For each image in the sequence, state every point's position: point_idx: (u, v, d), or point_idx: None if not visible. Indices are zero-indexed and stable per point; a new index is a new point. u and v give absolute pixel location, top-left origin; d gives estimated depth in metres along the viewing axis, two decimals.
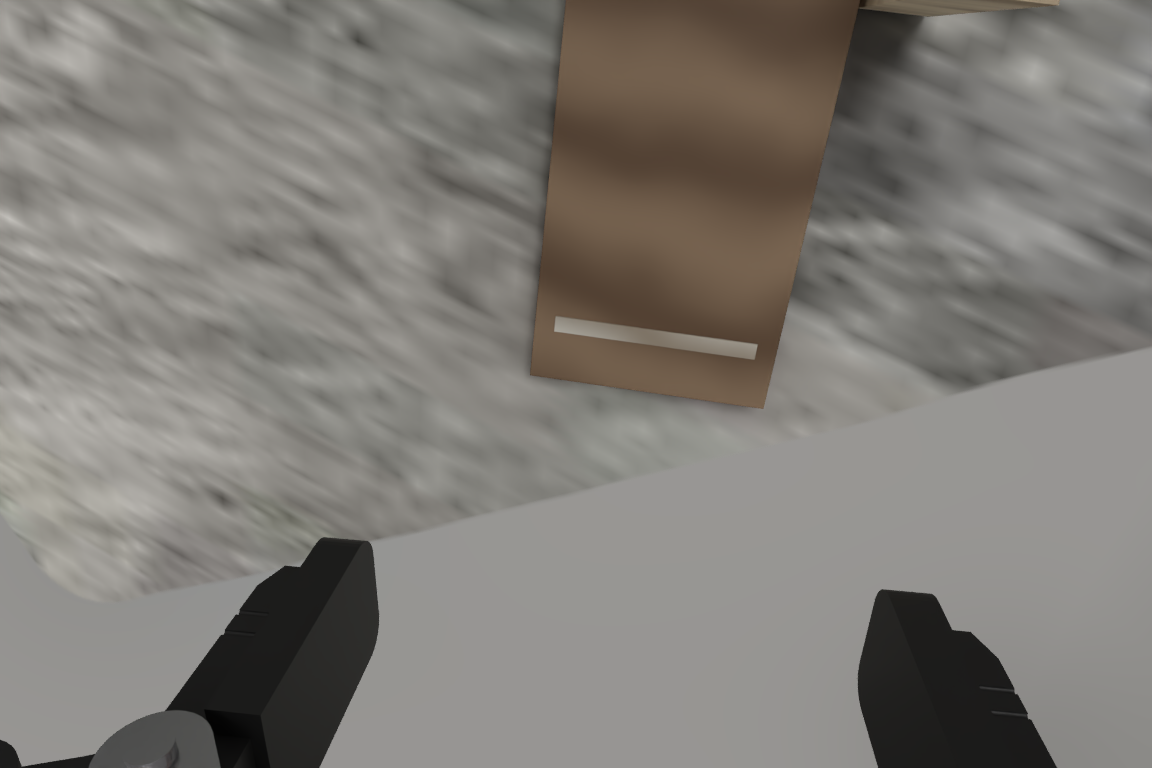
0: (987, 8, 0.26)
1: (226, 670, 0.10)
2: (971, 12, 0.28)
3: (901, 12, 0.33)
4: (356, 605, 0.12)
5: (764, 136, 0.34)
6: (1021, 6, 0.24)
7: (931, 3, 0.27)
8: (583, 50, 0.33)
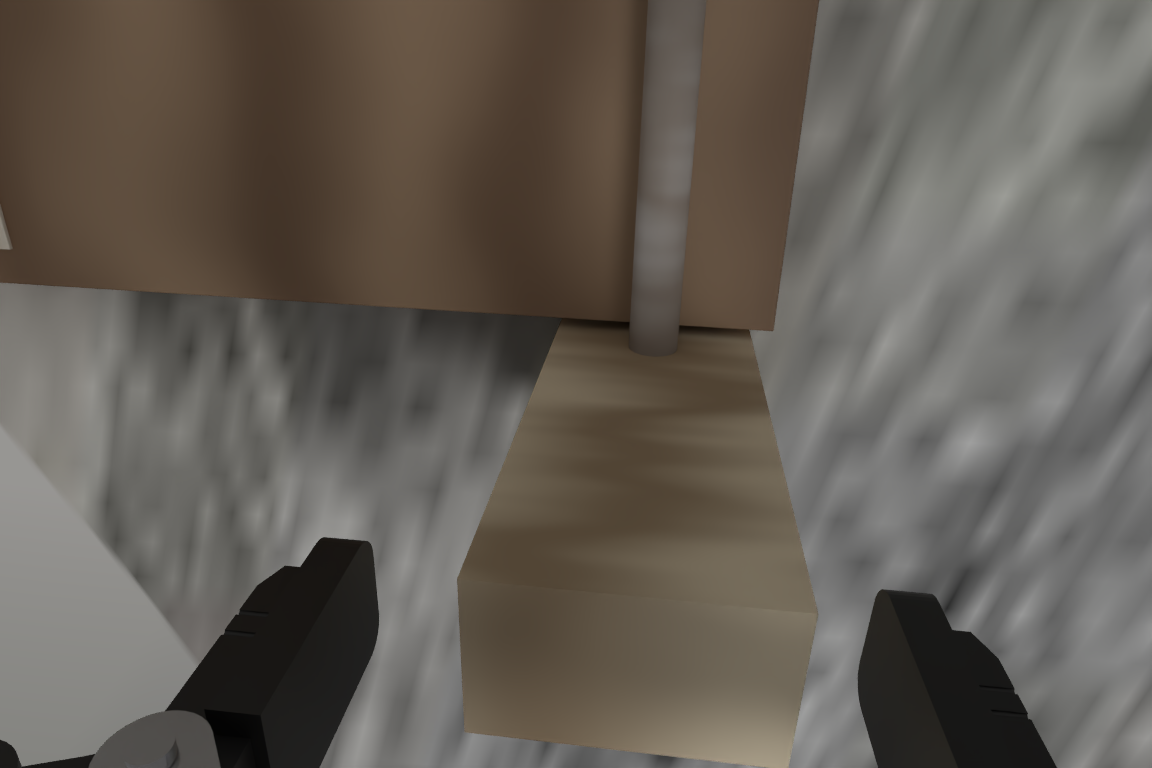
0: None
1: (226, 670, 0.10)
2: None
3: None
4: (355, 605, 0.12)
5: (344, 202, 0.20)
6: None
7: None
8: None
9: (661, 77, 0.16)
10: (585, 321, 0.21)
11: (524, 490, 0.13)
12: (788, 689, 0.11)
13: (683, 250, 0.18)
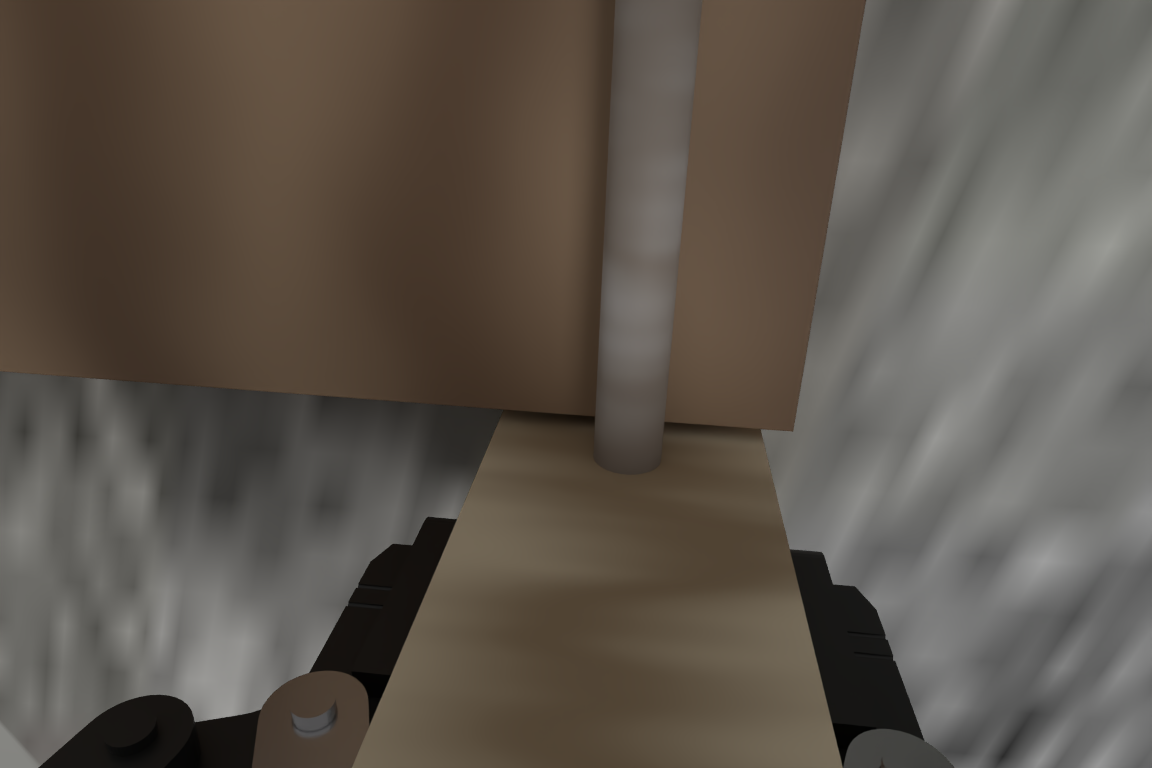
0: None
1: (358, 638, 0.11)
2: None
3: None
4: None
5: (195, 251, 0.14)
6: None
7: None
8: None
9: (637, 80, 0.11)
10: None
11: None
12: None
13: (670, 329, 0.12)
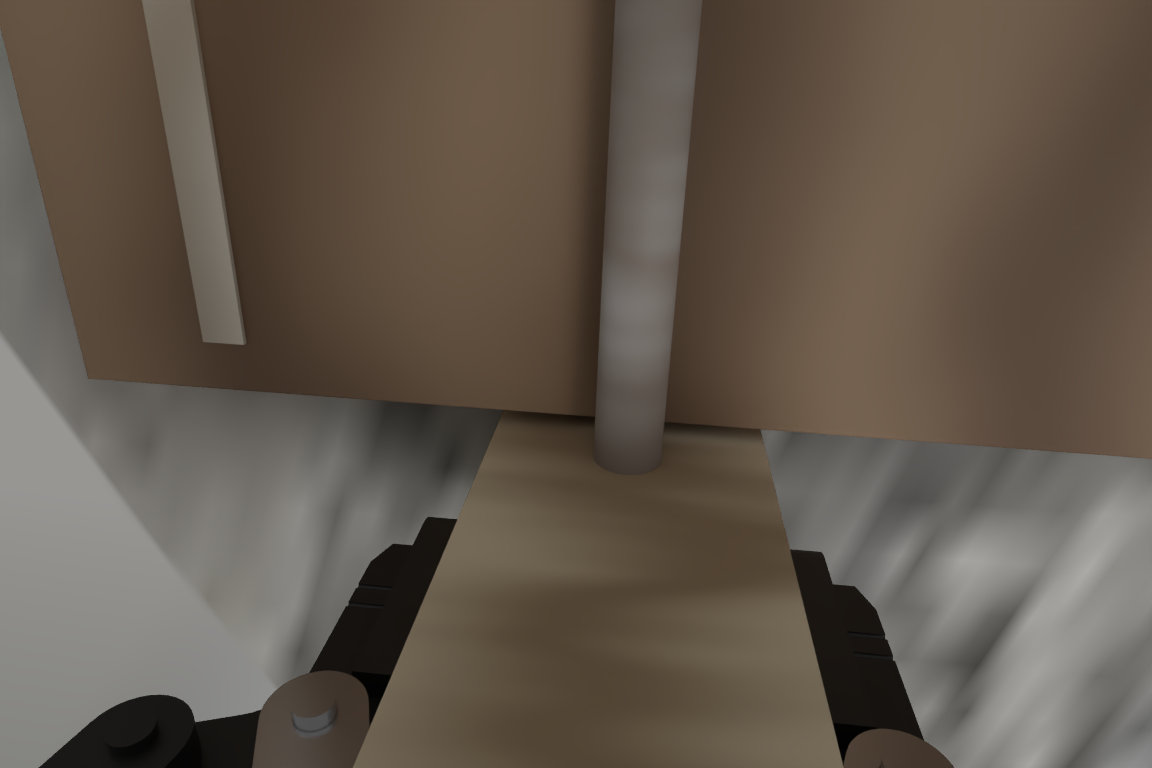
0: None
1: (358, 638, 0.11)
2: None
3: None
4: None
5: (777, 287, 0.13)
6: None
7: None
8: None
9: (637, 80, 0.11)
10: None
11: None
12: None
13: (670, 329, 0.12)
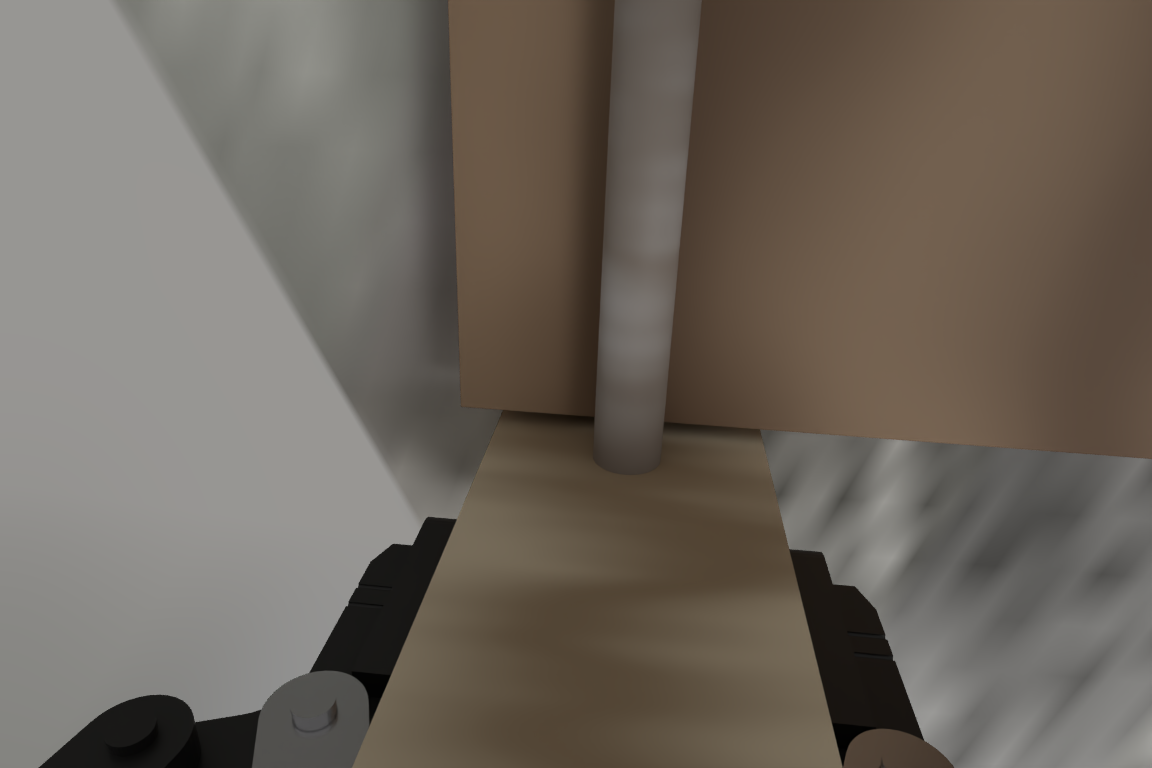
0: None
1: (358, 638, 0.11)
2: None
3: None
4: None
5: None
6: None
7: None
8: None
9: (636, 80, 0.11)
10: None
11: None
12: None
13: (669, 329, 0.12)
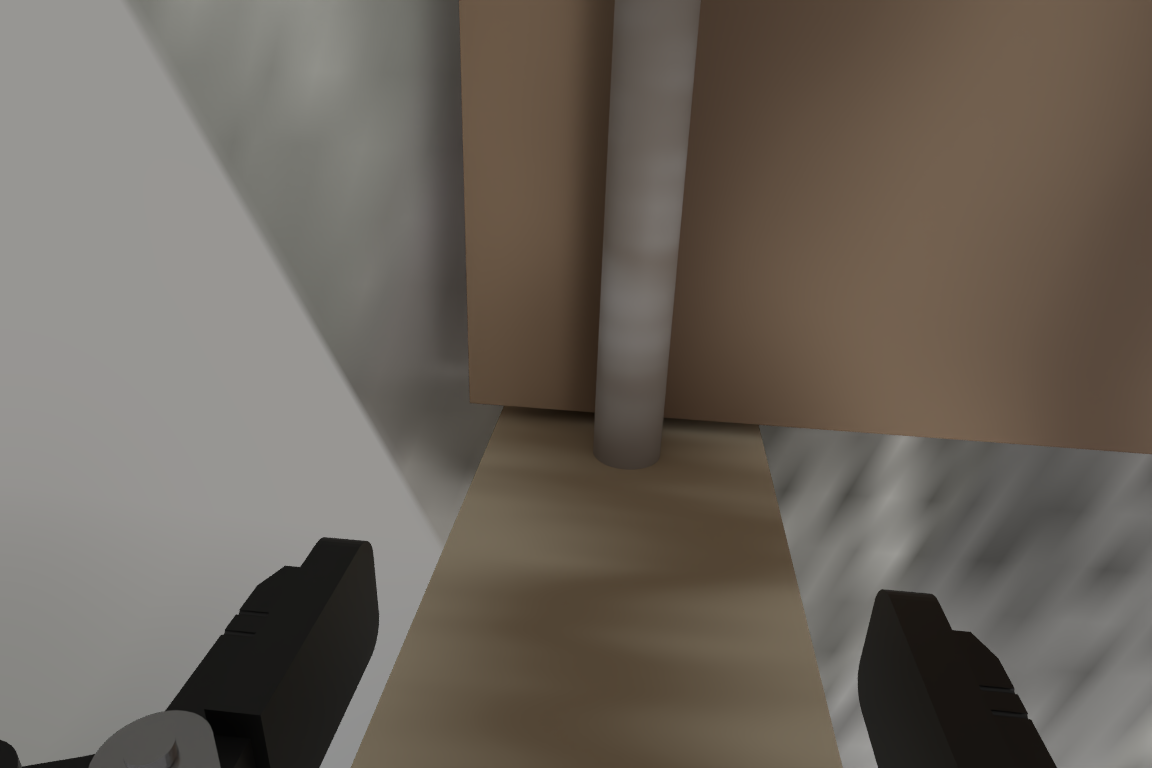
0: None
1: (226, 670, 0.10)
2: None
3: None
4: (355, 605, 0.12)
5: None
6: None
7: None
8: None
9: (636, 78, 0.11)
10: None
11: None
12: None
13: (669, 325, 0.13)
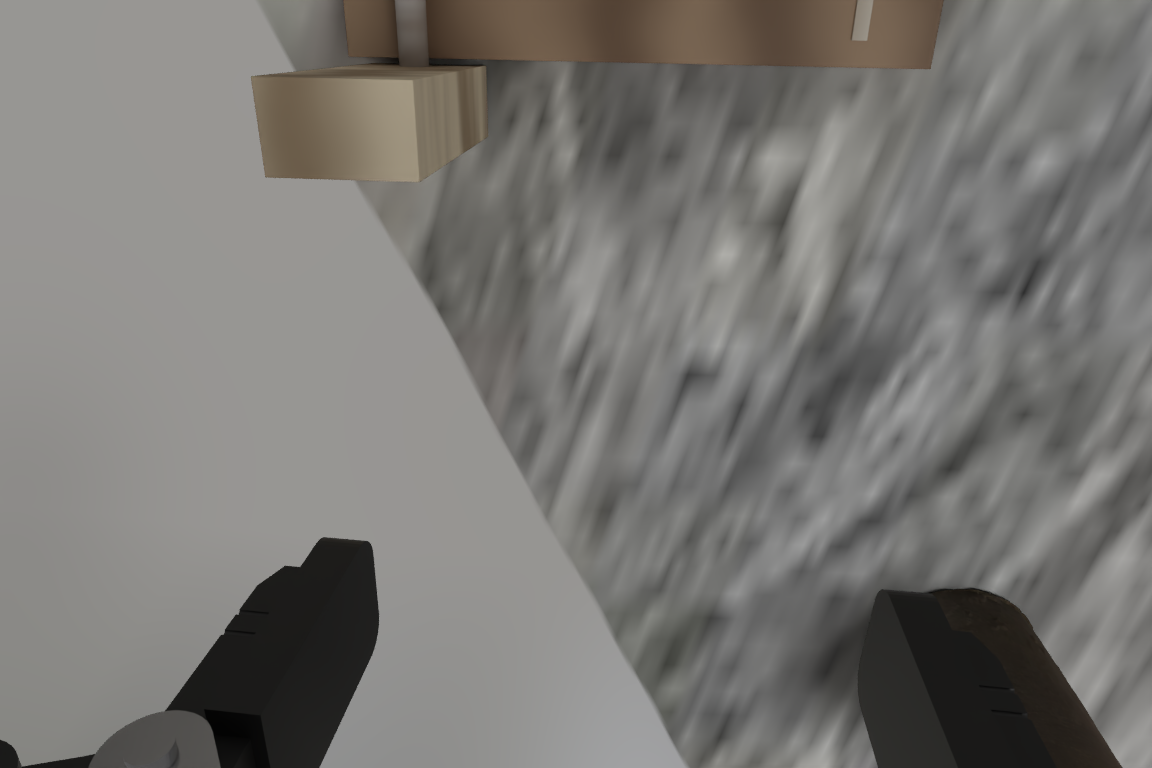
0: None
1: (226, 670, 0.10)
2: None
3: None
4: (356, 605, 0.12)
5: None
6: None
7: None
8: None
9: None
10: (381, 64, 0.33)
11: (299, 72, 0.26)
12: (409, 128, 0.24)
13: None
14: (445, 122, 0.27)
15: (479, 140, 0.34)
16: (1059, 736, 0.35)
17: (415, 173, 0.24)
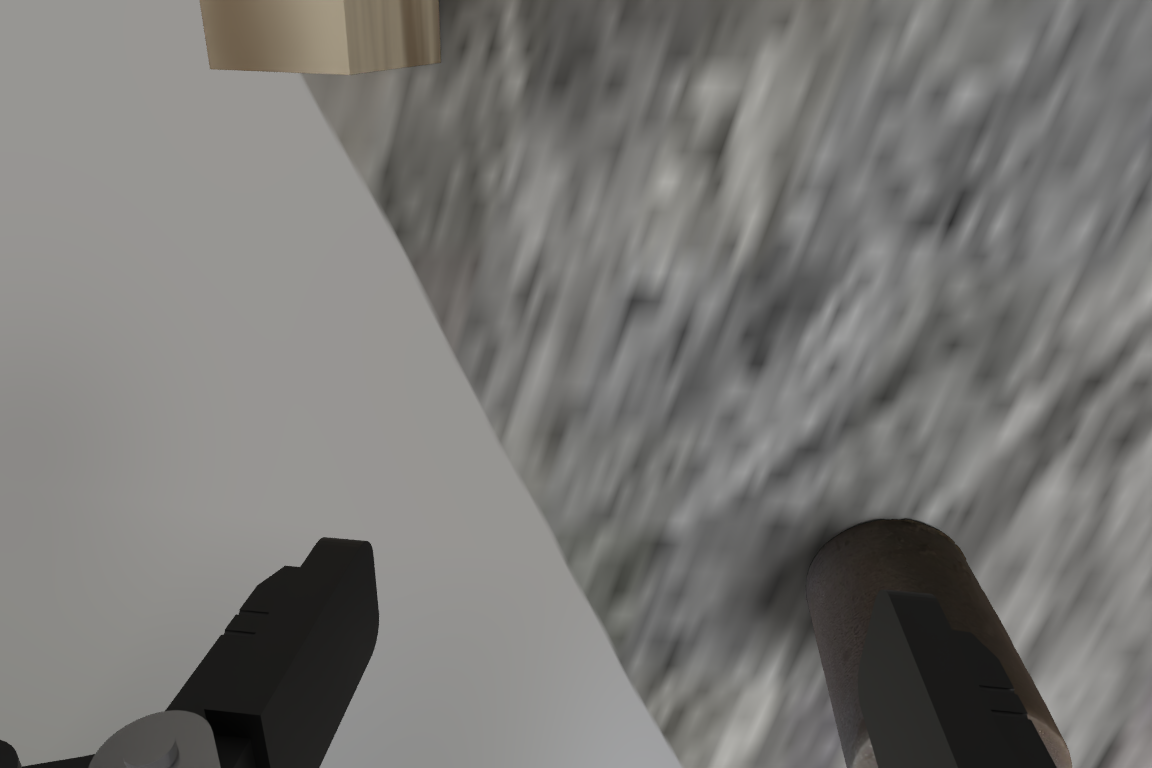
0: None
1: (226, 670, 0.10)
2: None
3: None
4: (355, 605, 0.12)
5: None
6: None
7: None
8: None
9: None
10: None
11: None
12: (339, 23, 0.26)
13: None
14: (384, 29, 0.29)
15: (429, 62, 0.36)
16: None
17: (346, 66, 0.26)
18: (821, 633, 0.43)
